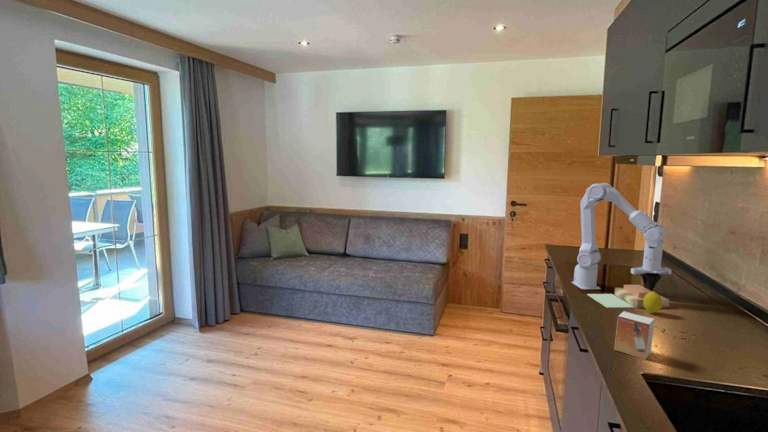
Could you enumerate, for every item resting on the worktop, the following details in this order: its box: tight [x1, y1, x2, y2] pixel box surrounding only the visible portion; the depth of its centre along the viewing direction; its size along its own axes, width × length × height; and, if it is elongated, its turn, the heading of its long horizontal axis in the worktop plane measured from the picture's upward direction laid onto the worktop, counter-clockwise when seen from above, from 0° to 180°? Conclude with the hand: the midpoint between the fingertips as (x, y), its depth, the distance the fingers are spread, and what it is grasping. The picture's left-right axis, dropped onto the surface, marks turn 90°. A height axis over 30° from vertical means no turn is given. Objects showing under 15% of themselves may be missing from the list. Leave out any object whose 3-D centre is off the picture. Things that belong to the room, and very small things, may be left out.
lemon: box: [643, 291, 662, 314], centre depth 144 cm, size 6×6×8 cm
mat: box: [586, 293, 635, 309], centre depth 156 cm, size 14×10×1 cm
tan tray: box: [613, 287, 670, 309], centre depth 156 cm, size 14×12×3 cm
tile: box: [622, 284, 652, 298], centre depth 156 cm, size 9×6×2 cm, turn 2°
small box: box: [613, 310, 656, 360], centre depth 115 cm, size 8×6×10 cm
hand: (648, 292), depth 156 cm, fingers closed
